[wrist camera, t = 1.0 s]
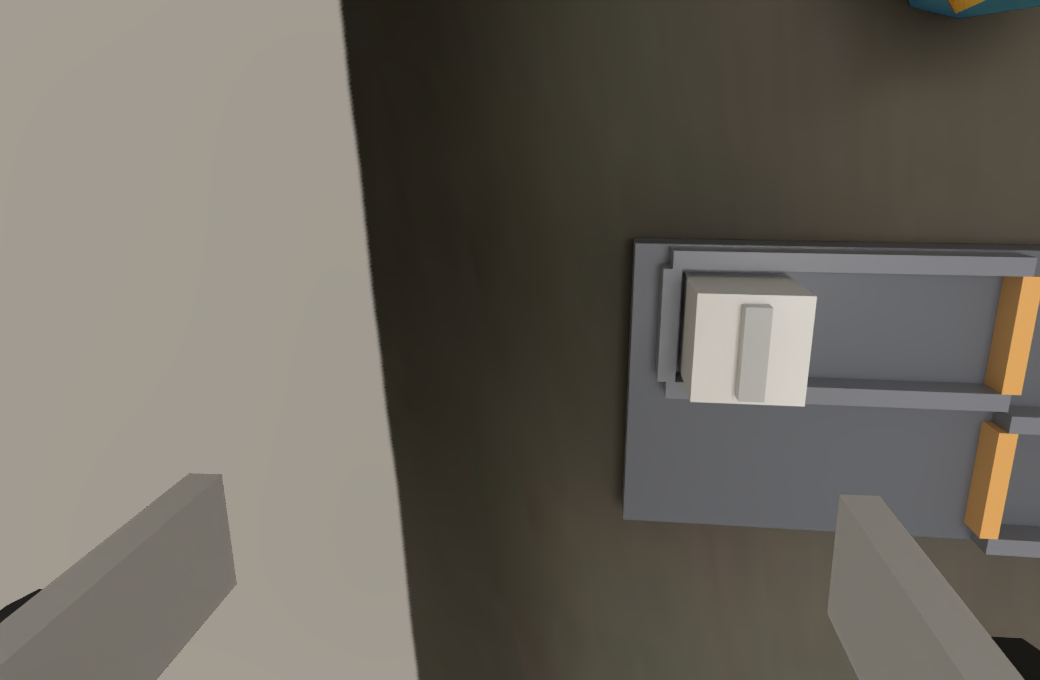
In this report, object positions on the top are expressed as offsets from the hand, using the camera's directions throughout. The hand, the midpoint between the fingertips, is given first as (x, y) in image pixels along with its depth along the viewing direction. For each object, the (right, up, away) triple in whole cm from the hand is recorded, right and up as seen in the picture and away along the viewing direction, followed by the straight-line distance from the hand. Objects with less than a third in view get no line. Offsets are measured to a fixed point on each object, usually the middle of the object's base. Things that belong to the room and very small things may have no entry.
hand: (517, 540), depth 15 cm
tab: (+10, +5, +18) cm, 21 cm away
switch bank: (+22, +2, +20) cm, 30 cm away
